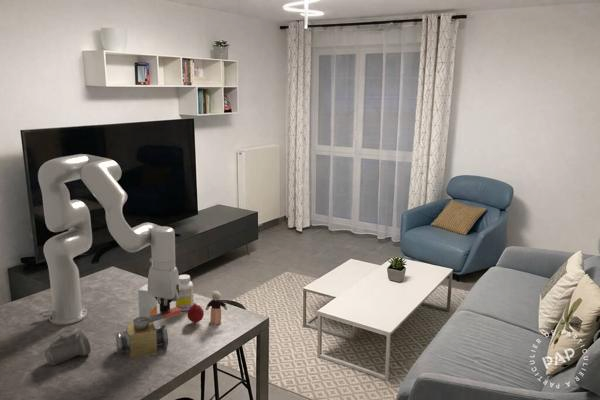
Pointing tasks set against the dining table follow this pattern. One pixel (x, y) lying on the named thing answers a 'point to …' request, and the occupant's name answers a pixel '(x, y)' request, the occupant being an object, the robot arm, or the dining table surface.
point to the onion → (195, 313)
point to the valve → (141, 340)
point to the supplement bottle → (185, 293)
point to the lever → (154, 318)
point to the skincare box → (146, 303)
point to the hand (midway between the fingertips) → (165, 314)
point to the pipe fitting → (67, 346)
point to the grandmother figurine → (216, 308)
